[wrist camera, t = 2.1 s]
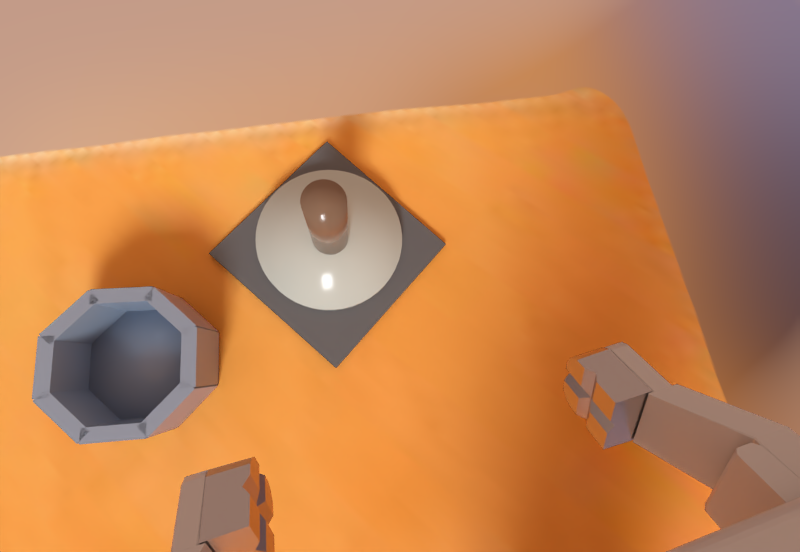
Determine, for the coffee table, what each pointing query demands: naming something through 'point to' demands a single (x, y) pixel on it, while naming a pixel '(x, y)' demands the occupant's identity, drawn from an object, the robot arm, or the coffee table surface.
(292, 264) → the lid
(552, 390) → the coffee table surface
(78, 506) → the coffee table surface
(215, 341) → the bowl
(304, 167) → the mat
